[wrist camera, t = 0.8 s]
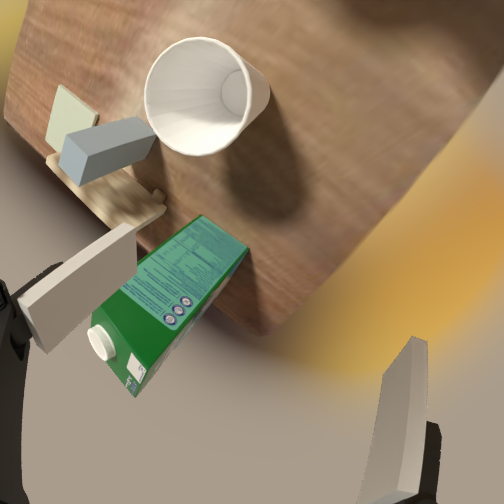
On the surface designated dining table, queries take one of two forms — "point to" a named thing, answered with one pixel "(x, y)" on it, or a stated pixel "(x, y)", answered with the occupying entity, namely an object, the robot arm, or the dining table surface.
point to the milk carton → (163, 300)
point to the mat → (68, 117)
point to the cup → (202, 96)
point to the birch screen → (115, 197)
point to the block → (105, 149)
